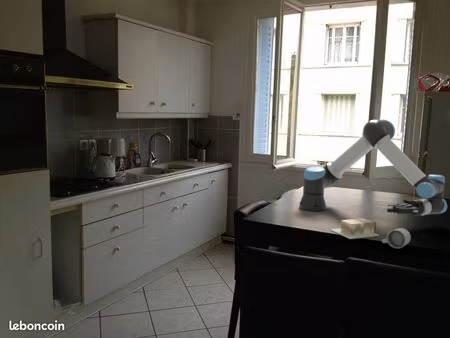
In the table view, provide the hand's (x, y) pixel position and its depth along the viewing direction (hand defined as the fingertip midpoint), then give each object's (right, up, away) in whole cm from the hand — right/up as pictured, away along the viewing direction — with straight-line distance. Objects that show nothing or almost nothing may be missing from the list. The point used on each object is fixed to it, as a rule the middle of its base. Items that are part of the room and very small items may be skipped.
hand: (380, 210), depth 189 cm
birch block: (-5, -7, -1) cm, 9 cm away
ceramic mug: (-2, -13, -20) cm, 24 cm away
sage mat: (-14, -10, -4) cm, 17 cm away
